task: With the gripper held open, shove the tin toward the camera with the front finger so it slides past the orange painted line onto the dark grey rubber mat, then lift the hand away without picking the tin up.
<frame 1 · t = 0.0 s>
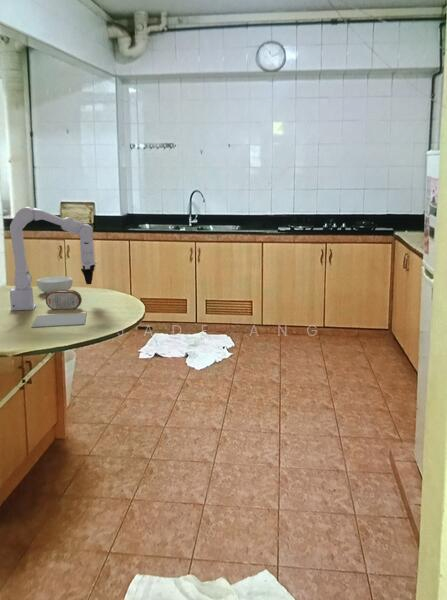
hand: (89, 282, 265), 10 cm above the counter, tool pointing down, fingers open, 7 cm apart
cereal bowl: (55, 293, 294), on the counter
throw line: (62, 314, 251), on the counter
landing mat: (60, 320, 241), on the counter
tin: (64, 310, 260), on the counter
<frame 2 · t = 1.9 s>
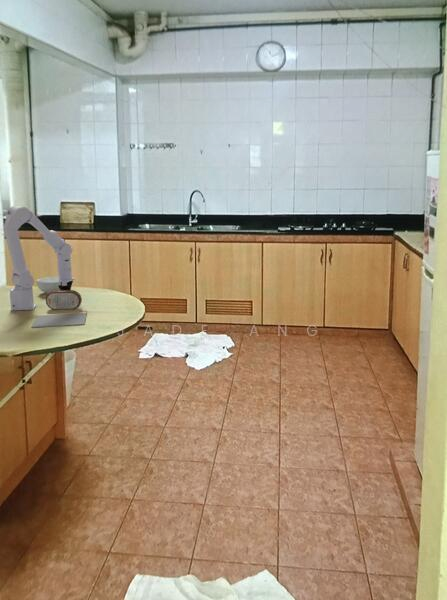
hand: (66, 298, 275), 1 cm above the counter, tool pointing down, fingers open, 7 cm apart
nothing on the counter moved.
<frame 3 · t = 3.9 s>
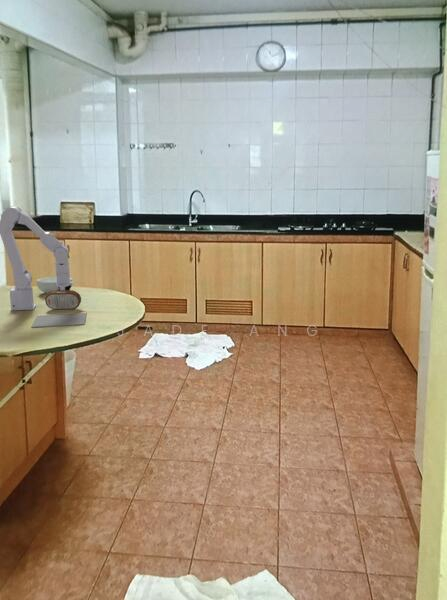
hand: (65, 303, 265), 1 cm above the counter, tool pointing down, fingers open, 7 cm apart
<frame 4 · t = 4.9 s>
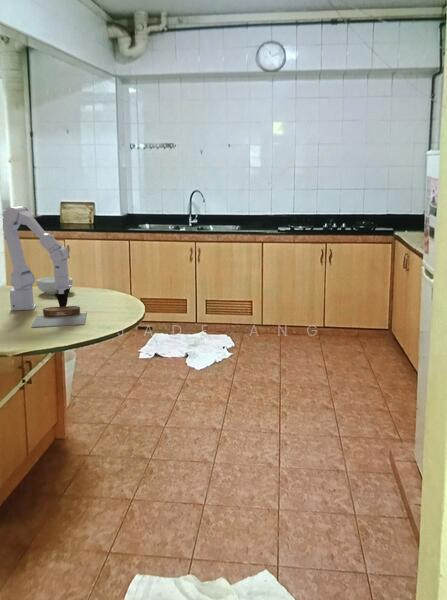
hand: (63, 307, 258), 1 cm above the counter, tool pointing down, fingers open, 6 cm apart
tin: (62, 310, 254), point 1 cm above the counter, touching gripper
everything else where it was.
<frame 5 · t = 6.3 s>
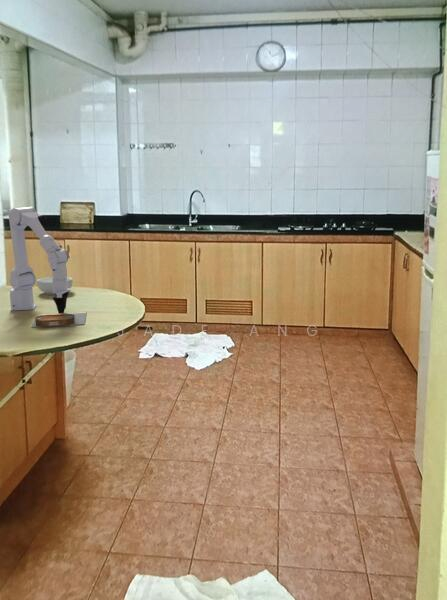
hand: (62, 311, 251), 1 cm above the counter, tool pointing down, fingers open, 7 cm apart
tin: (56, 318, 239), point 1 cm above the counter, touching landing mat
everything else where it was.
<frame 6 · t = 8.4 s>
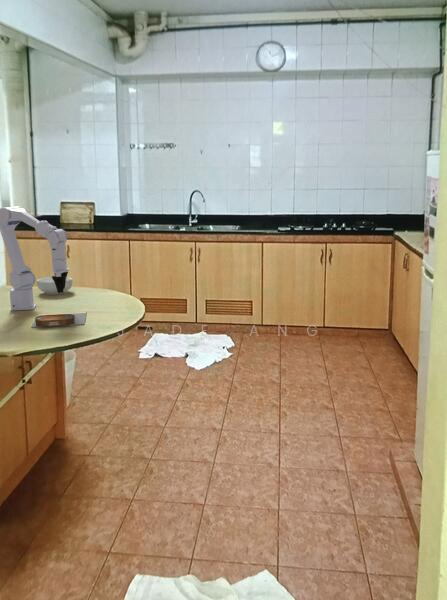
hand: (61, 290, 253), 9 cm above the counter, tool pointing down, fingers open, 7 cm apart
nothing on the counter moved.
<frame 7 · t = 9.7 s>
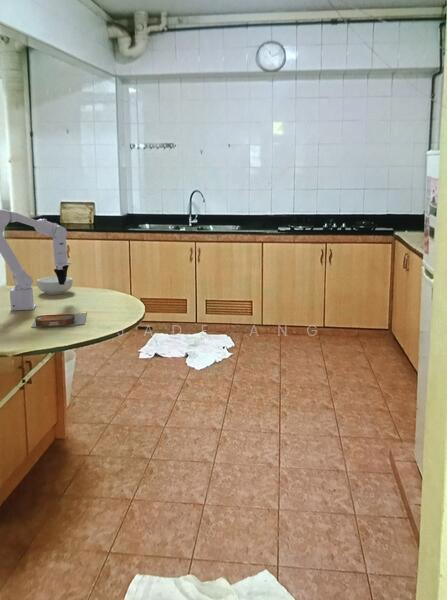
hand: (62, 282, 269), 9 cm above the counter, tool pointing down, fingers open, 7 cm apart
nothing on the counter moved.
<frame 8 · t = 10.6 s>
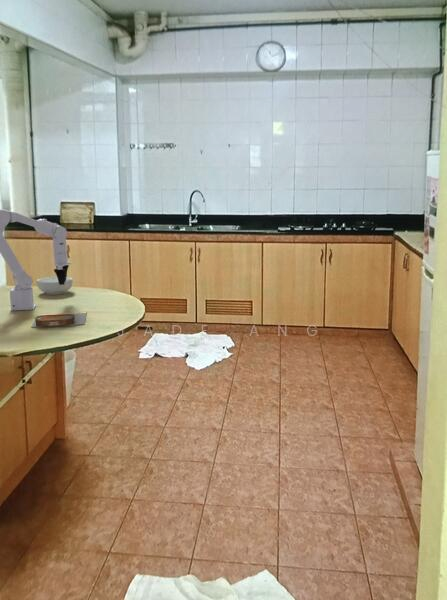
hand: (62, 282, 269), 9 cm above the counter, tool pointing down, fingers open, 7 cm apart
nothing on the counter moved.
at the end: tin inside the target area (1.1 cm from its centre), point 1.5 cm above the counter; tin moved 21.1 cm from its start; the gripper is holding nothing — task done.
